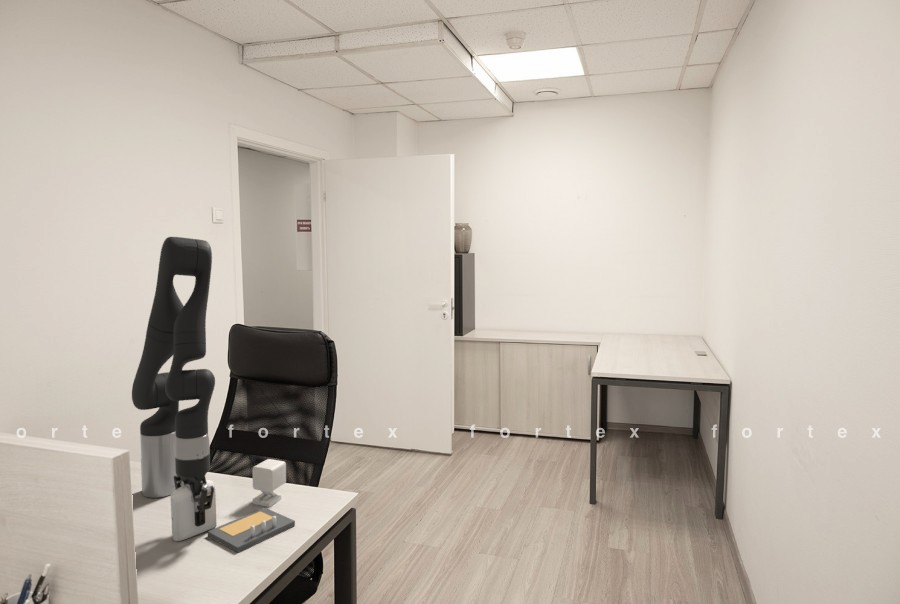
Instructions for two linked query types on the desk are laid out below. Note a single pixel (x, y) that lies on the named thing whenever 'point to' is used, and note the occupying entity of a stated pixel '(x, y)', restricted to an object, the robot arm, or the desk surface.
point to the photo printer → (189, 514)
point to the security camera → (268, 481)
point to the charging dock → (251, 529)
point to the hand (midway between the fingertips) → (194, 521)
